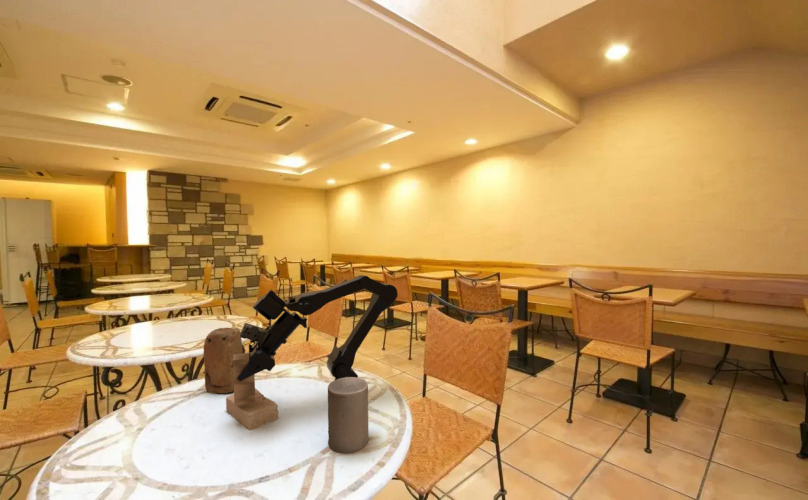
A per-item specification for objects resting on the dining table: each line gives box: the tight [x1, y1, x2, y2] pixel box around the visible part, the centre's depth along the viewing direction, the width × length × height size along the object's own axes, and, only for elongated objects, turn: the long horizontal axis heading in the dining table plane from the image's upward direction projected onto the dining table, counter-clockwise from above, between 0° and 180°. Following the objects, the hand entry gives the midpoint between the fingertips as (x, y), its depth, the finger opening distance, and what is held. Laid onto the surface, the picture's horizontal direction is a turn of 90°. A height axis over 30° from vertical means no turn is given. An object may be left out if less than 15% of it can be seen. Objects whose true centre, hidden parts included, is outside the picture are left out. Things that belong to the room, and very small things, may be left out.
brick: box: [225, 388, 279, 431], centre depth 94 cm, size 17×8×5 cm, turn 48°
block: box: [203, 327, 243, 394], centre depth 111 cm, size 11×8×20 cm
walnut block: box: [233, 352, 256, 406], centre depth 91 cm, size 5×5×12 cm
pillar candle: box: [327, 377, 369, 454], centre depth 80 cm, size 10×10×15 cm
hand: (238, 376), depth 90 cm, fingers closed on walnut block, 5 cm apart
